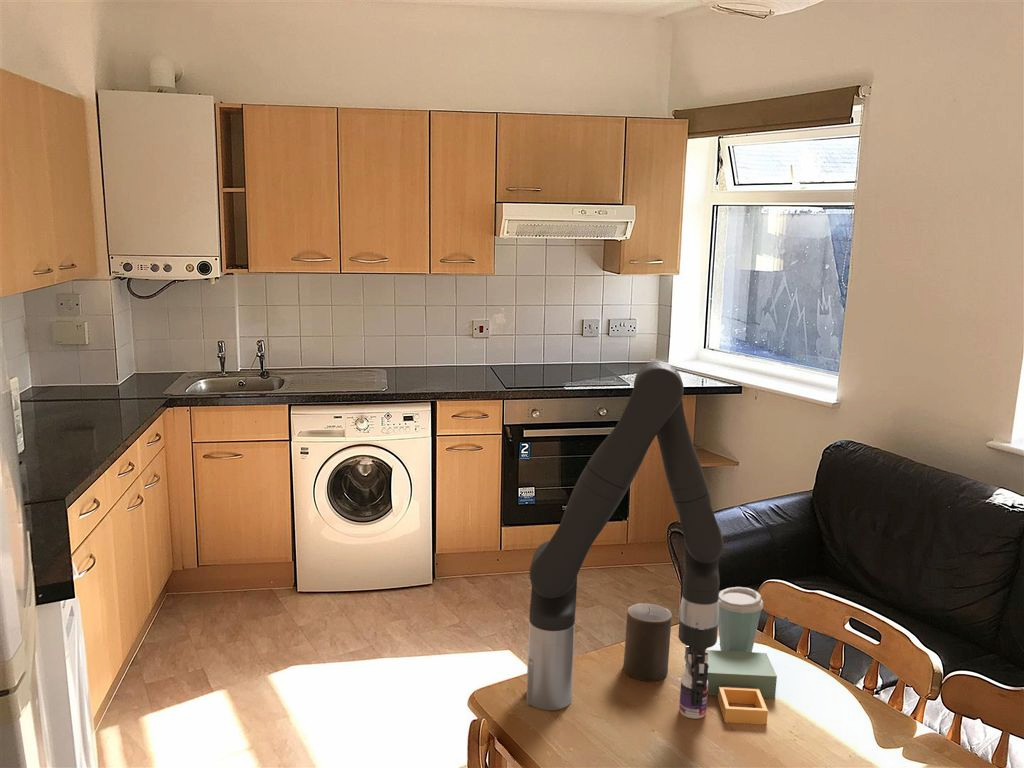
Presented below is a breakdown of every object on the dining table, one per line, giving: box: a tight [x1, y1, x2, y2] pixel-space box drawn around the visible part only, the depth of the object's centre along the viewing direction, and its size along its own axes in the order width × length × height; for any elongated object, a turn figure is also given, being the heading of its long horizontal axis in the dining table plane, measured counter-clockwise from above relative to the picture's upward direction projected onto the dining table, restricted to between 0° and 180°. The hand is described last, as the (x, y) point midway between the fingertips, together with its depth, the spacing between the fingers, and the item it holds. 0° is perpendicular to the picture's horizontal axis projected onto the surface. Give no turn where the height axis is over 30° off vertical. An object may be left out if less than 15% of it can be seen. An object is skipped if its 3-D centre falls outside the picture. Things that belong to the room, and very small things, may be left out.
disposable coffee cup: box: [718, 586, 764, 652], centre depth 201 cm, size 11×11×15 cm
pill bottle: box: [678, 664, 709, 719], centre depth 178 cm, size 5×5×10 cm
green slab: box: [706, 649, 778, 726], centre depth 184 cm, size 16×20×5 cm
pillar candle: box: [622, 603, 673, 682], centre depth 193 cm, size 10×10×15 cm
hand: (693, 695), depth 178 cm, fingers open, 6 cm apart
